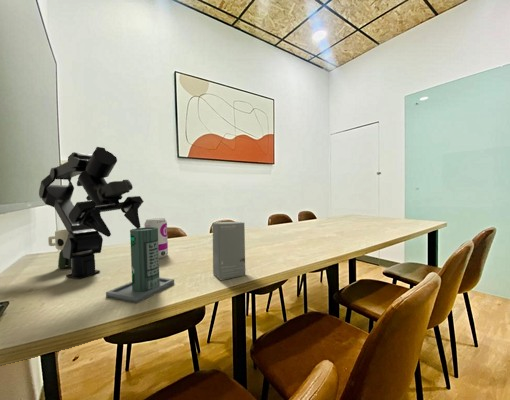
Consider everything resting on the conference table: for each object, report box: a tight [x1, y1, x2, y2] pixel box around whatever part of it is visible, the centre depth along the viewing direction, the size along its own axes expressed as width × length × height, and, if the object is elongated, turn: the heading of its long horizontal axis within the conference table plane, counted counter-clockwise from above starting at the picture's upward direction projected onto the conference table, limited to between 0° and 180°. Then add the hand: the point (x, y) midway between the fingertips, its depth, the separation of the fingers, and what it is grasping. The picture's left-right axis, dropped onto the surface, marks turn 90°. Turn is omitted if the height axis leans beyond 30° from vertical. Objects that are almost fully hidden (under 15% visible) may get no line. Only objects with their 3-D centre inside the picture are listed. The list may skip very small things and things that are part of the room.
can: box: [129, 227, 160, 292], centre depth 59 cm, size 6×6×15 cm
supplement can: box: [143, 217, 169, 259], centre depth 92 cm, size 8×8×15 cm
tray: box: [105, 276, 175, 304], centre depth 59 cm, size 10×12×1 cm
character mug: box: [48, 228, 71, 269], centre depth 81 cm, size 11×7×13 cm, turn 116°
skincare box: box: [211, 221, 246, 281], centre depth 69 cm, size 8×7×16 cm
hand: (125, 231), depth 64 cm, fingers open, 9 cm apart
